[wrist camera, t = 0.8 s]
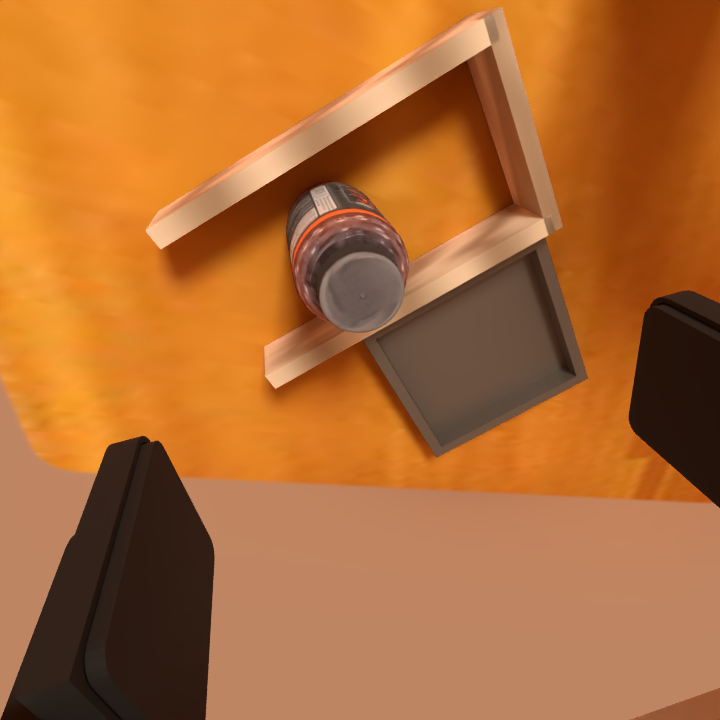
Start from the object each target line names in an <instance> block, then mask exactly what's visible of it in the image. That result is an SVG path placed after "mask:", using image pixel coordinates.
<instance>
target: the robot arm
mask: <svg viewBox="0 0 720 720" xmlns="http://www.w3.org/2000/svg"><path fill="white" fill-rule="evenodd" d="M629 422H630V425H631V428H632V429H633V431H634V432H635V433H636V434H637V435H638V436H639V437H640V438H641V439H642V440H643V441H645V442H646V443H647V444H648V445H649V446H650V447H651V448H652V449H654V450H655V451H656V452H657V453H658V454H659V455H660V456H661V457H663V458H664V459H665V460H666V461H667V462H668V463H669V464H671V465H672V466H673V467H674V468H675V469H676V470H677V471H678V472H680V473H681V474H682V475H683V476H684V477H685V478H686V479H687V480H689V481H690V482H691V483H692V484H693V485H694V486H695V487H697V488H698V489H699V490H700V491H701V492H702V493H703V494H704V495H706V496H707V497H708V498H709V499H710V500H711V501H712V502H714V503H715V504H716V505H717V506H718V507H719V508H720V304H719V303H717V302H715V301H713V300H711V299H708V298H706V297H704V296H702V295H700V294H697V293H695V292H692V291H682V292H678V293H674V294H670V295H667V296H663V297H659V298H657V299H655V300H654V301H653V302H652V304H651V306H650V308H649V309H647V311H646V312H645V315H644V320H643V326H642V333H641V339H640V346H639V352H638V359H637V365H636V372H635V378H634V385H633V391H632V398H631V404H630V411H629ZM213 576H214V548H213V544H212V541H211V538H210V536H209V534H208V532H207V530H206V528H205V526H204V524H203V523H202V521H201V519H200V517H199V515H198V513H197V511H196V509H195V507H194V505H193V503H192V501H191V499H190V497H189V495H188V493H187V492H186V490H185V488H184V486H183V484H182V482H181V480H180V478H179V476H178V474H177V472H176V470H175V468H174V466H173V464H172V462H171V461H170V459H169V457H168V455H167V453H166V451H165V449H164V447H163V445H162V444H161V443H160V442H159V441H154V442H150V440H149V439H148V438H147V437H145V436H140V437H137V438H133V439H129V440H125V441H122V442H118V443H114V444H111V445H109V446H108V448H107V449H106V452H105V454H104V457H103V460H102V463H101V465H100V468H99V471H98V473H97V476H96V479H95V481H94V484H93V487H92V490H91V492H90V495H89V498H88V500H87V503H86V506H85V509H84V511H83V514H82V517H81V519H80V522H79V525H78V527H77V530H76V533H75V535H74V536H73V537H72V538H71V539H70V541H69V543H68V544H67V546H66V548H65V551H64V554H63V556H62V559H61V562H60V564H59V567H58V569H57V572H56V575H55V577H54V580H53V583H52V585H51V588H50V591H49V593H48V596H47V599H46V602H45V604H44V606H43V609H42V612H41V615H40V617H39V620H38V623H37V625H36V628H35V630H34V633H33V635H32V638H31V641H30V643H29V646H28V649H27V652H26V654H25V657H24V659H23V662H22V665H21V667H20V670H19V672H18V675H17V678H16V680H15V683H14V686H13V688H12V691H11V693H10V696H9V699H8V701H7V704H6V707H5V709H4V712H3V715H2V717H1V720H205V717H206V700H207V699H206V698H207V682H208V664H209V647H210V628H211V610H212V593H213ZM631 720H720V688H719V689H716V690H713V691H710V692H707V693H704V694H702V695H699V696H696V697H693V698H690V699H687V700H685V701H682V702H679V703H676V704H674V705H671V706H668V707H665V708H662V709H660V710H657V711H654V712H651V713H648V714H645V715H643V716H640V717H637V718H634V719H631Z"/></svg>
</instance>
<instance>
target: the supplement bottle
mask: <svg viewBox="0 0 720 720" xmlns="http://www.w3.org/2000/svg"><path fill="white" fill-rule="evenodd" d="M286 231H287V242H288V248H289V254H290V260H291V267H292V273H293V277H294V282H295V286H296V289H297V291H298V294H299V296H300V298H301V299H302V301H303V303H304V304H305V305H306V306H307V308H308V309H309V310H310V311H311V312H313V313H314V314H315V315H316V316H318V317H319V318H321V319H323V320H325V321H327V322H330V323H332V324H333V325H335V326H336V327H338V328H340V329H342V330H344V331H347V332H353V333H364V332H369V331H373V330H376V329H378V328H380V327H382V326H383V325H385V324H386V323H388V322H389V321H390V320H391V319H392V318H393V317H394V316H395V315H396V313H397V312H398V310H399V308H400V306H401V304H402V301H403V298H404V291H405V287H406V283H407V279H408V274H409V261H408V254H407V251H406V248H405V245H404V243H403V241H402V239H401V237H400V236H399V234H398V233H397V232H396V230H395V229H394V228H393V227H392V225H391V224H390V223H389V222H388V221H387V219H386V218H385V217H384V216H383V215H382V214H381V213H380V212H379V210H378V209H377V208H376V207H375V206H374V205H373V203H372V202H371V201H370V199H369V198H368V197H367V196H366V195H364V194H363V193H362V192H361V191H359V190H357V189H356V188H354V187H352V186H350V185H347V184H344V183H339V182H325V183H321V184H318V185H315V186H313V187H311V188H309V189H307V190H306V191H305V192H303V193H302V194H301V195H300V196H299V197H298V198H297V200H296V201H295V202H294V204H293V206H292V208H291V210H290V212H289V215H288V220H287V226H286Z"/></svg>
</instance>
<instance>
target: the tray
mask: <svg viewBox="0 0 720 720" xmlns="http://www.w3.org/2000/svg"><path fill="white" fill-rule="evenodd" d="M363 342H364V343H365V345H366V346H367V348H368V350H369V351H370V353H371V354H372V356H373V358H374V359H375V361H376V362H377V364H378V365H379V367H380V369H381V370H382V372H383V373H384V375H385V377H386V378H387V380H388V381H389V383H390V385H391V386H392V388H393V389H394V391H395V392H396V394H397V396H398V397H399V399H400V400H401V402H402V404H403V405H404V407H405V408H406V410H407V412H408V413H409V415H410V416H411V418H412V420H413V421H414V423H415V424H416V426H417V427H418V429H419V431H420V432H421V434H422V435H423V437H424V439H425V440H426V442H427V443H428V445H429V447H430V448H431V450H432V451H433V453H434V454H435V456H436V457H438V456H440V455H442V454H444V453H446V452H448V451H450V450H452V449H454V448H456V447H458V446H459V445H461V444H463V443H465V442H467V441H469V440H471V439H473V438H475V437H477V436H479V435H481V434H482V433H484V432H486V431H488V430H490V429H492V428H494V427H496V426H498V425H500V424H502V423H503V422H505V421H507V420H509V419H511V418H513V417H515V416H517V415H519V414H521V413H523V412H525V411H526V410H528V409H530V408H532V407H534V406H536V405H538V404H540V403H542V402H544V401H546V400H547V399H549V398H551V397H553V396H555V395H557V394H559V393H561V392H563V391H565V390H567V389H569V388H570V387H572V386H574V385H576V384H578V383H580V382H582V381H584V380H586V379H588V377H587V374H586V370H585V367H584V364H583V361H582V357H581V354H580V351H579V348H578V344H577V341H576V338H575V334H574V331H573V328H572V325H571V321H570V318H569V315H568V311H567V308H566V305H565V302H564V298H563V295H562V292H561V288H560V285H559V282H558V279H557V275H556V272H555V269H554V265H553V262H552V259H551V256H550V252H549V249H548V246H547V243H546V239H545V237H544V238H543V239H541V240H539V241H537V242H535V243H534V244H532V245H530V246H528V247H527V248H525V249H523V250H521V251H519V252H518V253H516V254H514V255H512V256H511V257H509V258H507V259H505V260H503V261H502V262H500V263H498V264H496V265H495V266H493V267H491V268H489V269H487V270H486V271H484V272H482V273H480V274H479V275H477V276H475V277H473V278H471V279H470V280H468V281H466V282H464V283H463V284H461V285H459V286H457V287H455V288H454V289H452V290H450V291H448V292H447V293H445V294H443V295H441V296H440V297H438V298H436V299H434V300H432V301H431V302H429V303H427V304H425V305H424V306H422V307H420V308H418V309H416V310H415V311H413V312H411V313H409V314H408V315H406V316H404V317H402V318H400V319H399V320H397V321H395V322H393V323H392V324H390V325H388V326H386V327H384V328H383V329H381V330H379V331H377V332H376V333H374V334H372V335H370V336H368V337H367V338H365V339H363Z"/></svg>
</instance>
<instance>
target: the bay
mask: <svg viewBox="0 0 720 720" xmlns="http://www.w3.org/2000/svg"><path fill="white" fill-rule="evenodd" d="M466 60H467V63H468V66H469V69H470V72H471V75H472V78H473V81H474V84H475V87H476V90H477V93H478V96H479V99H480V102H481V105H482V108H483V111H484V114H485V117H486V120H487V123H488V126H489V129H490V132H491V135H492V138H493V141H494V144H495V148H496V151H497V154H498V157H499V160H500V163H501V166H502V169H503V172H504V175H505V178H506V181H507V184H508V187H509V190H510V193H511V196H512V199H513V202H514V203H513V204H511V205H509V206H507V207H506V208H504V209H502V210H500V211H499V212H497V213H495V214H494V215H492V216H490V217H488V218H487V219H485V220H483V221H481V222H480V223H478V224H476V225H474V226H473V227H471V228H469V229H467V230H466V231H464V232H462V233H461V234H459V235H457V236H455V237H454V238H452V239H450V240H448V241H447V242H445V243H443V244H441V245H440V246H438V247H436V248H434V249H433V250H431V251H429V252H428V253H426V254H424V255H422V256H421V257H419V258H417V259H415V260H414V261H412V262H410V263H409V274H408V279H407V283H406V287H405V291H404V298H403V301H402V304H401V306H400V308H399V310H398V312H397V313H396V315H395V316H394V317H393V318H392V319H391V320H390V321H389V322H388V323H386V324H385V325H383V326H382V327H380V328H378V329H376V330H373V331H369V332H364V333H353V332H347V331H344V330H342V329H340V328H338V327H336V326H335V325H333V324H332V323H330V322H327V321H325V320H323V319H321V318H319V317H318V316H316V317H315V318H313V319H311V320H310V321H308V322H306V323H304V324H303V325H301V326H299V327H297V328H296V329H294V330H292V331H290V332H289V333H287V334H285V335H283V336H282V337H280V338H278V339H277V340H275V341H273V342H271V343H270V344H268V345H266V346H264V353H265V377H266V378H267V379H268V381H269V382H270V383H271V384H272V385H273V387H274V388H275V389H276V388H278V387H280V386H281V385H283V384H285V383H287V382H289V381H290V380H292V379H294V378H296V377H297V376H299V375H301V374H303V373H305V372H306V371H308V370H310V369H312V368H313V367H315V366H317V365H319V364H321V363H322V362H324V361H326V360H328V359H329V358H331V357H333V356H335V355H337V354H338V353H340V352H342V351H344V350H345V349H347V348H349V347H351V346H352V345H354V344H356V343H358V342H360V341H361V340H363V339H365V338H367V337H368V336H370V335H372V334H374V333H376V332H377V331H379V330H381V329H383V328H384V327H386V326H388V325H390V324H392V323H393V322H395V321H397V320H399V319H400V318H402V317H404V316H406V315H408V314H409V313H411V312H413V311H415V310H416V309H418V308H420V307H422V306H424V305H425V304H427V303H429V302H431V301H432V300H434V299H436V298H438V297H440V296H441V295H443V294H445V293H447V292H448V291H450V290H452V289H454V288H455V287H457V286H459V285H461V284H463V283H464V282H466V281H468V280H470V279H471V278H473V277H475V276H477V275H479V274H480V273H482V272H484V271H486V270H487V269H489V268H491V267H493V266H495V265H496V264H498V263H500V262H502V261H503V260H505V259H507V258H509V257H511V256H512V255H514V254H516V253H518V252H519V251H521V250H523V249H525V248H527V247H528V246H530V245H532V244H534V243H535V242H537V241H539V240H541V239H543V238H544V237H546V236H548V235H550V234H551V233H553V232H555V231H557V230H558V229H560V228H562V227H563V225H562V222H561V218H560V214H559V211H558V207H557V203H556V200H555V196H554V193H553V189H552V185H551V182H550V178H549V175H548V171H547V167H546V164H545V160H544V157H543V153H542V149H541V146H540V142H539V139H538V135H537V131H536V128H535V124H534V121H533V117H532V113H531V110H530V106H529V102H528V99H527V95H526V92H525V88H524V84H523V81H522V77H521V74H520V70H519V66H518V63H517V59H516V56H515V52H514V48H513V45H512V41H511V38H510V34H509V30H508V27H507V23H506V20H505V16H504V12H503V9H502V7H500V8H496V9H491V10H487V11H483V12H479V13H475V14H471V15H469V16H468V17H466V18H464V19H463V20H461V21H460V22H458V23H456V24H455V25H453V26H452V27H450V28H448V29H447V30H445V31H444V32H442V33H441V34H439V35H437V36H436V37H434V38H433V39H431V40H429V41H428V42H426V43H425V44H423V45H422V46H420V47H418V48H417V49H415V50H414V51H412V52H410V53H409V54H407V55H406V56H404V57H402V58H401V59H399V60H398V61H396V62H395V63H393V64H391V65H390V66H388V67H387V68H385V69H383V70H382V71H380V72H379V73H377V74H375V75H374V76H372V77H371V78H369V79H368V80H366V81H364V82H363V83H361V84H360V85H358V86H356V87H355V88H353V89H352V90H350V91H349V92H347V93H345V94H344V95H342V96H341V97H339V98H337V99H336V100H334V101H333V102H331V103H329V104H328V105H326V106H325V107H323V108H322V109H320V110H318V111H317V112H315V113H314V114H312V115H310V116H309V117H307V118H306V119H304V120H302V121H301V122H299V123H298V124H296V125H295V126H293V127H291V128H290V129H288V130H287V131H285V132H283V133H282V134H280V135H279V136H277V137H275V138H274V139H272V140H271V141H269V142H268V143H266V144H264V145H263V146H261V147H260V148H258V149H256V150H255V151H253V152H252V153H250V154H249V155H247V156H245V157H244V158H242V159H241V160H239V161H237V162H236V163H234V164H233V165H231V166H229V167H228V168H226V169H225V170H223V171H222V172H220V173H218V174H217V175H215V176H214V177H212V178H210V179H209V180H207V181H206V182H204V183H202V184H201V185H199V186H198V187H196V188H195V189H193V190H191V191H190V192H188V193H187V194H185V195H183V196H182V197H180V198H179V199H177V200H175V201H174V202H172V203H171V204H169V205H168V206H166V207H164V208H163V209H161V210H160V211H158V212H157V214H156V215H155V217H154V218H153V220H152V221H151V223H150V224H149V226H148V227H147V229H146V230H145V231H146V232H147V233H148V235H149V236H150V237H151V238H152V239H153V241H154V242H155V243H156V244H157V246H158V247H159V248H160V249H162V248H164V247H166V246H167V245H169V244H170V243H172V242H174V241H175V240H177V239H178V238H180V237H182V236H183V235H185V234H187V233H188V232H190V231H191V230H193V229H195V228H196V227H198V226H199V225H201V224H203V223H204V222H206V221H208V220H209V219H211V218H212V217H214V216H216V215H217V214H219V213H220V212H222V211H224V210H225V209H227V208H229V207H230V206H232V205H233V204H235V203H237V202H238V201H240V200H241V199H243V198H245V197H246V196H248V195H250V194H251V193H253V192H254V191H256V190H258V189H259V188H261V187H262V186H264V185H266V184H267V183H269V182H270V181H272V180H274V179H275V178H277V177H279V176H280V175H282V174H283V173H285V172H287V171H288V170H290V169H291V168H293V167H295V166H296V165H298V164H300V163H301V162H303V161H304V160H306V159H308V158H309V157H311V156H312V155H314V154H316V153H317V152H319V151H321V150H322V149H324V148H325V147H327V146H329V145H330V144H332V143H333V142H335V141H337V140H338V139H340V138H342V137H343V136H345V135H346V134H348V133H350V132H351V131H353V130H354V129H356V128H358V127H359V126H361V125H363V124H364V123H366V122H367V121H369V120H371V119H372V118H374V117H375V116H377V115H379V114H380V113H382V112H384V111H385V110H387V109H388V108H390V107H392V106H393V105H395V104H396V103H398V102H400V101H401V100H403V99H405V98H406V97H408V96H409V95H411V94H413V93H414V92H416V91H417V90H419V89H421V88H422V87H424V86H426V85H427V84H429V83H430V82H432V81H434V80H435V79H437V78H438V77H440V76H442V75H443V74H445V73H447V72H448V71H450V70H451V69H453V68H455V67H456V66H458V65H459V64H461V63H463V62H464V61H466Z"/></svg>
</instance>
